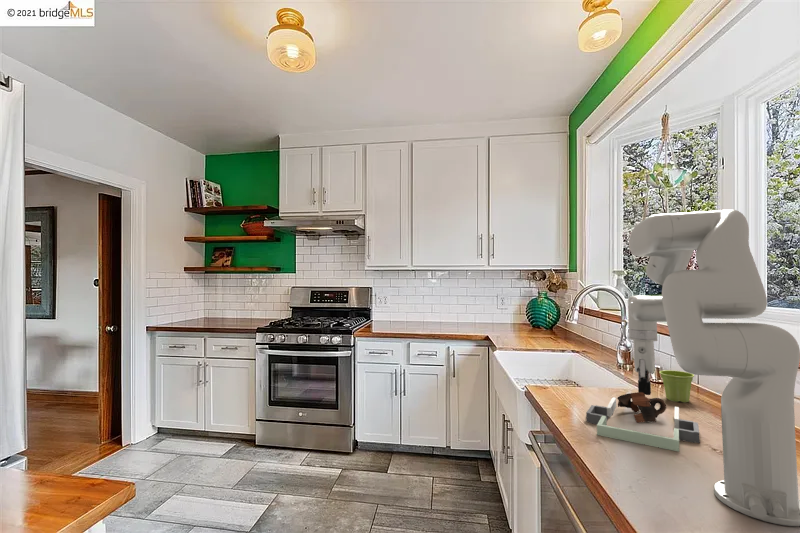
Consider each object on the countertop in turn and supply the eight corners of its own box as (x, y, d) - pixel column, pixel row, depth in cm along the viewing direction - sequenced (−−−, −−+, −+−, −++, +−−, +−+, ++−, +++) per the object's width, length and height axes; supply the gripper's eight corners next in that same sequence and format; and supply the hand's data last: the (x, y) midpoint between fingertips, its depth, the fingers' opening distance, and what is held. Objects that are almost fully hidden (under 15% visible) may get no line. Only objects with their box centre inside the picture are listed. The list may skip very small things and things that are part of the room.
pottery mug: (625, 424, 106) (614, 394, 111) (624, 429, 114) (613, 400, 118) (674, 417, 103) (661, 386, 107) (669, 423, 110) (657, 393, 114)
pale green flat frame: (701, 456, 86) (700, 444, 86) (580, 431, 100) (579, 421, 100) (696, 418, 109) (696, 409, 109) (598, 403, 123) (598, 395, 123)
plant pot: (653, 398, 128) (652, 371, 128) (671, 394, 132) (670, 368, 132) (684, 406, 120) (683, 378, 120) (701, 401, 124) (700, 374, 124)
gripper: (656, 339, 112) (658, 402, 111) (658, 332, 124) (660, 389, 124) (626, 337, 116) (628, 398, 116) (631, 331, 128) (633, 386, 128)
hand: (644, 393), depth 120 cm, fingers closed
